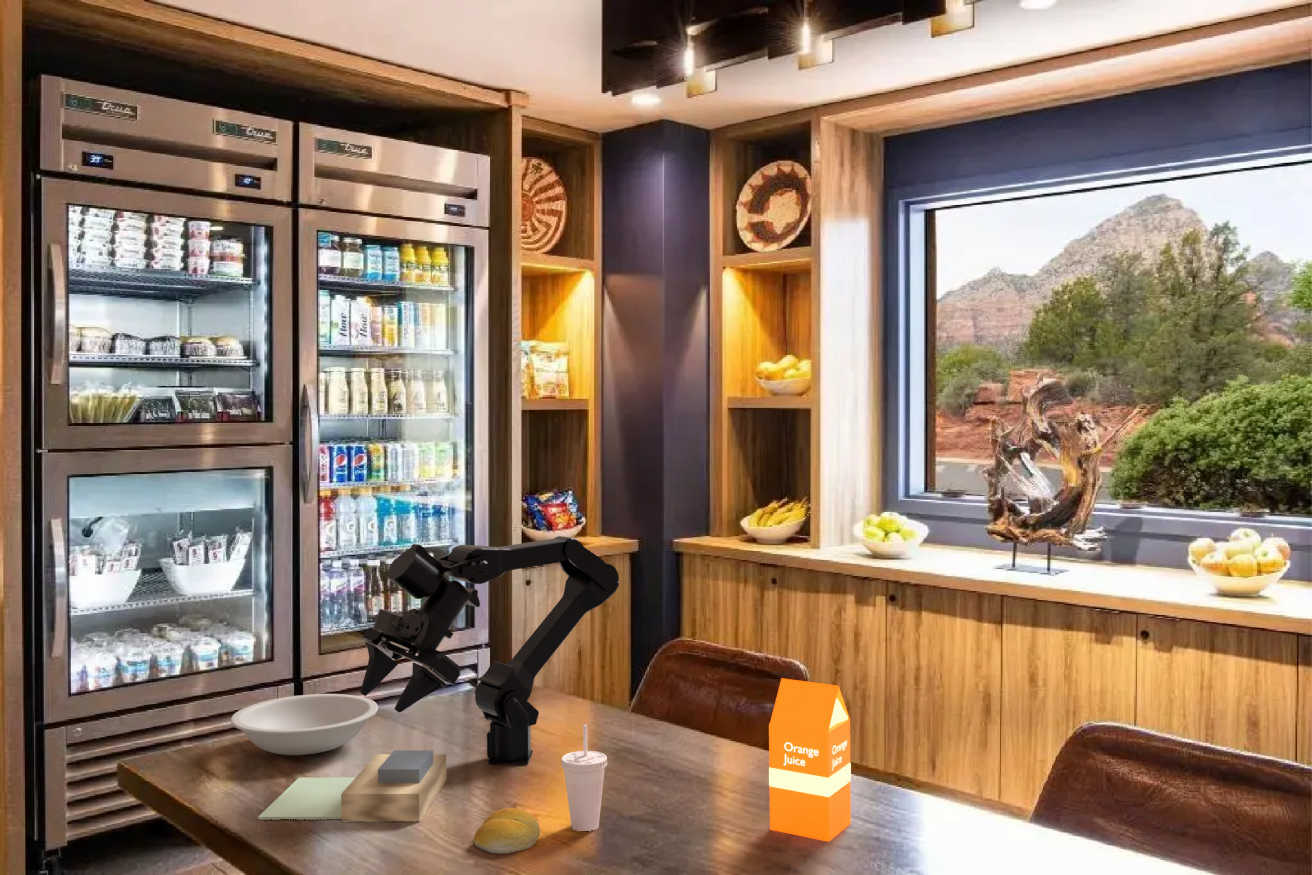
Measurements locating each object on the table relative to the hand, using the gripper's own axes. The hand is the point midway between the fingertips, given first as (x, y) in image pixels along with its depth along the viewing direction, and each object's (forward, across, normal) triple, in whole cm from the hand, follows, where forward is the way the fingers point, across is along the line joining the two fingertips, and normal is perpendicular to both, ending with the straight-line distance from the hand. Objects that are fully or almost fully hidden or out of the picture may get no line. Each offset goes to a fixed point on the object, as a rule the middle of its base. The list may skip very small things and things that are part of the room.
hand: (379, 702), depth 173 cm
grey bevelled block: (+7, +7, +6) cm, 11 cm away
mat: (+16, -3, +3) cm, 16 cm away
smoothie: (+1, +35, +14) cm, 38 cm away
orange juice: (-14, +58, +29) cm, 66 cm away
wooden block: (+10, +6, +8) cm, 14 cm away
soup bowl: (+11, -26, +14) cm, 31 cm away
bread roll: (+8, +31, +7) cm, 33 cm away
